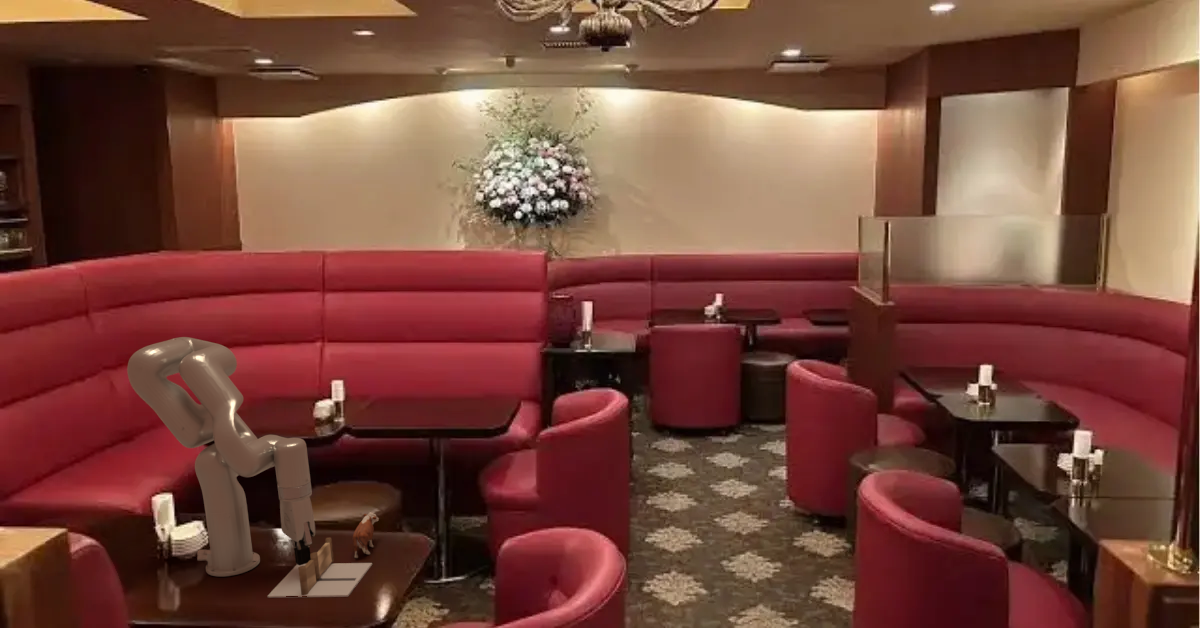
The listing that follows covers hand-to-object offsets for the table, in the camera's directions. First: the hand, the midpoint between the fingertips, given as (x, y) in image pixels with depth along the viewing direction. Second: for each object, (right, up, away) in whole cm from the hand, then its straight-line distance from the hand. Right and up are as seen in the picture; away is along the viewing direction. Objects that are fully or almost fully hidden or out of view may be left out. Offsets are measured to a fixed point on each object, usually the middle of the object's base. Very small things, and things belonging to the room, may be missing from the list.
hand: (303, 562), depth 229 cm
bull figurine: (+12, 0, +13) cm, 18 cm away
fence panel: (+5, -2, 0) cm, 5 cm away
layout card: (+6, -3, -4) cm, 8 cm away
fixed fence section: (+4, -4, -8) cm, 10 cm away
